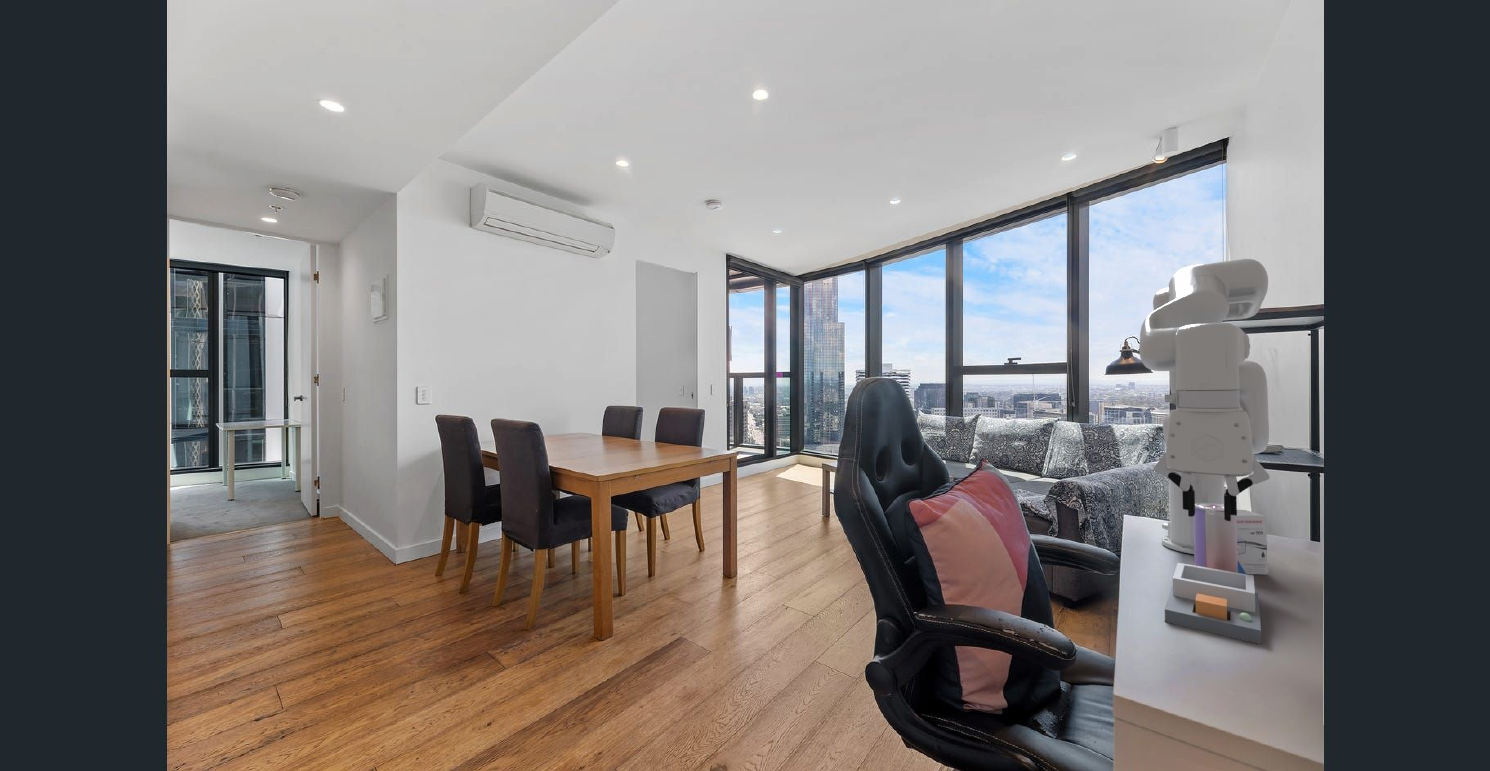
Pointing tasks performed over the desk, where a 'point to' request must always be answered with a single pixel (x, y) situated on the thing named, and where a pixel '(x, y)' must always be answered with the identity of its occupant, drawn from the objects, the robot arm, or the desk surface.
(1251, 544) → the ink box
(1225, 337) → the robot arm
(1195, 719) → the desk surface
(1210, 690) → the desk surface
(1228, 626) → the panel
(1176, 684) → the desk surface
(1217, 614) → the button
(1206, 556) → the beverage can
